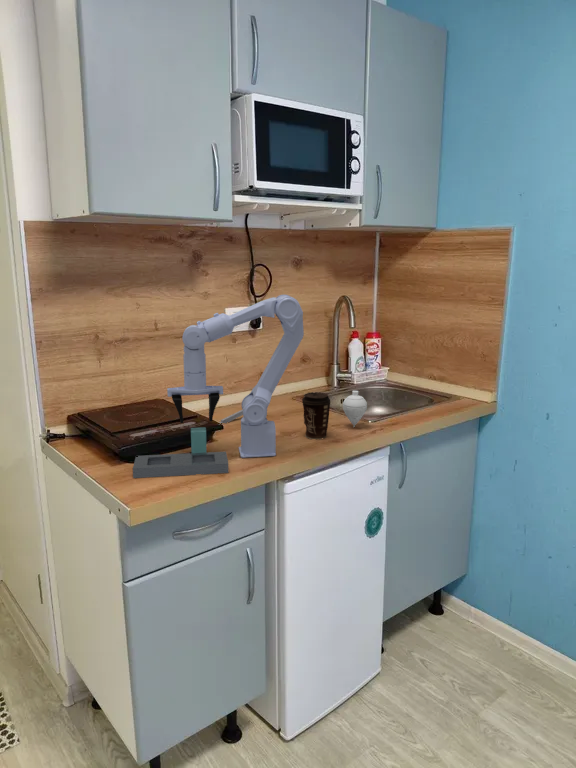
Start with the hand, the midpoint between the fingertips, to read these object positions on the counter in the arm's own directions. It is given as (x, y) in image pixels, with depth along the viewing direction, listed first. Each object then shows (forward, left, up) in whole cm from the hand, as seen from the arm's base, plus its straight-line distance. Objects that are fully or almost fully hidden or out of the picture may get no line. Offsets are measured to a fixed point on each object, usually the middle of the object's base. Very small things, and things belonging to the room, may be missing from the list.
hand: (196, 421), depth 151 cm
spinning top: (-50, -18, -10) cm, 54 cm away
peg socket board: (+4, +10, -10) cm, 14 cm away
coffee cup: (-36, -11, -10) cm, 39 cm away
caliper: (-16, -34, -10) cm, 39 cm away
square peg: (-1, 0, -10) cm, 10 cm away
